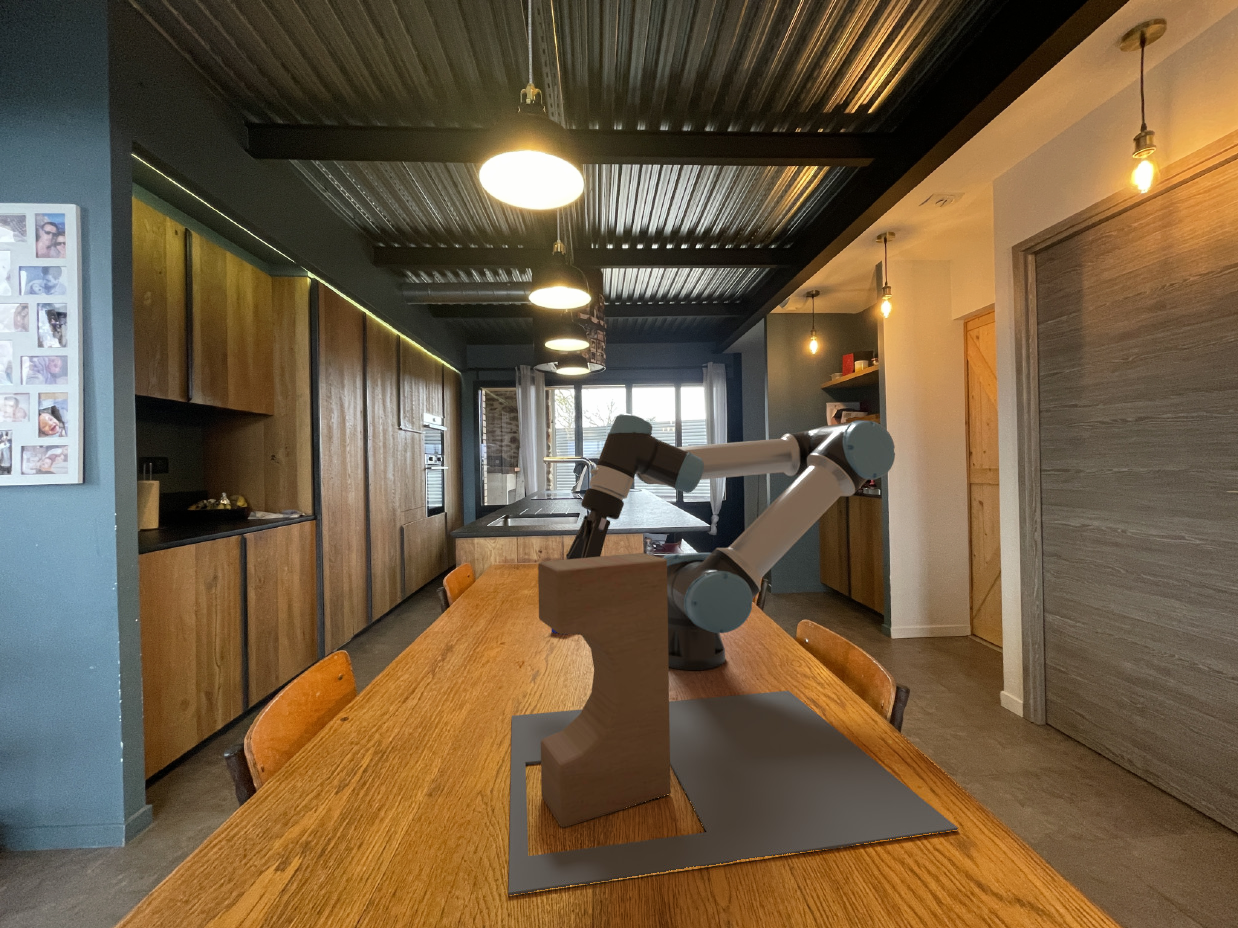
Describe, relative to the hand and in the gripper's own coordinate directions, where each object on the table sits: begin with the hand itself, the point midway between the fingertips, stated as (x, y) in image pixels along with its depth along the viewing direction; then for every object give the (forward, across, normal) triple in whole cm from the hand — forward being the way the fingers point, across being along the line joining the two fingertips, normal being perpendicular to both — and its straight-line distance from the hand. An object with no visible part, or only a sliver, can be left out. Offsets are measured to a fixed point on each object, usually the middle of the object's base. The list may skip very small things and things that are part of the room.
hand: (564, 602), depth 104 cm
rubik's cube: (+12, -45, +11) cm, 48 cm away
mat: (+12, +26, +20) cm, 35 cm away
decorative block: (+18, +31, +8) cm, 37 cm away
